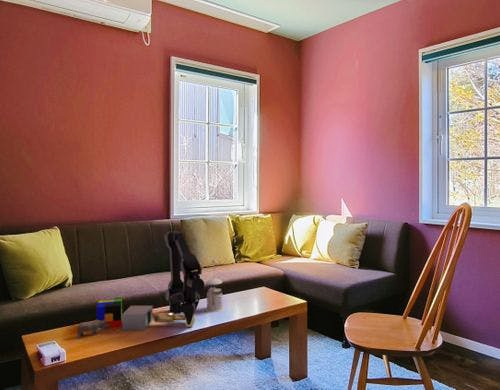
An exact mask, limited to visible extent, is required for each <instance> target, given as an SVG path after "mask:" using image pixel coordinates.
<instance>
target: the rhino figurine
mask: <svg viewBox="0 0 500 390" xmlns="http://www.w3.org/2000/svg"><path fill="white" fill-rule="evenodd" d="M104 321H105V319H104V320H103V321H100V320H97V319H95V320H93V321H85V322H81V323H79V324H78V326H77V334H76V335H77V336H76V338H77V339H82V337H84V336H85V334H84V332H86V333H91V332H92V333H91V336H95V337H96V335H97V331H98V330H97V329H98V328H101V330H103V331H107V330H108V329H107V328H108V327H109V326H110V324H109V325H107V324H105V323H106V322H104Z"/></svg>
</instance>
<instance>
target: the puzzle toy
mask: <svg viewBox="0 0 500 390" xmlns="http://www.w3.org/2000/svg"><path fill="white" fill-rule="evenodd" d="M122 302H123V299H122V298H119V299H118V298H116V299H104V300H103V299H101V300H98V303H97V304H96V320H100V321H103V320H104V319H105V321H104V322H106V323H105V324H107V325H109V324H110V326H109V327H108V328H107V330H109V329H118V328H119V329H120V328H122V314H123V303H122ZM100 330H102V329H101V328H98V329H97V330H96V331H100Z"/></svg>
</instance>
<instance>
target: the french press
mask: <svg viewBox="0 0 500 390" xmlns="http://www.w3.org/2000/svg"><path fill="white" fill-rule="evenodd" d="M212 263H213V273H214V275H213V277H214V278H211V279H207V281H206V284H207V285H209V286H210V285H211V287H210V288H208V289H207V292H206V303H207V304H206V307H205V308H204V311H206V312H208V313H219V312H222V311H223V312H224V310H225V307H224V306H223V292H222V291H223V290H222V288H219V287H218V288H217V287H215V286H216V285H221V284H223V281H222V280H221V279H219V278H216V276H215V275H216V274H215V273H216V272H215V271H216V270H215V269H216V268H215V266H216V265H215V264H216V263H217V260H216V259H213V260H212ZM212 286H214V287H212Z"/></svg>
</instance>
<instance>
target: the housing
mask: <svg viewBox="0 0 500 390" xmlns="http://www.w3.org/2000/svg"><path fill="white" fill-rule="evenodd" d="M153 314H154V313H153V305H130V306H129V307H128V308H127V309H126V310H125V311H124V312H122V324H121V328H122V331H146V330H147V329H148V327H149V326H150V325H151V324H152V322H153V321H154V319H153V318H154V317H153Z"/></svg>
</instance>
